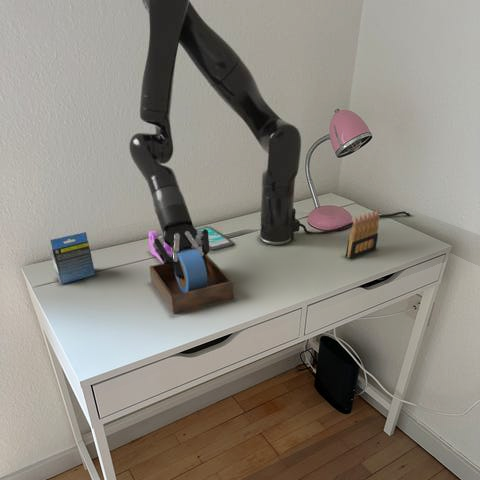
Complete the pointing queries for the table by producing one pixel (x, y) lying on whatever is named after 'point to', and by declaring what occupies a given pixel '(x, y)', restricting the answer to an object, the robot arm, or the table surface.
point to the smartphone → (215, 239)
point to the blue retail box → (72, 258)
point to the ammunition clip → (363, 235)
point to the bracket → (152, 237)
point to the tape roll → (192, 271)
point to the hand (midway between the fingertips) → (193, 275)
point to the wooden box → (178, 301)
